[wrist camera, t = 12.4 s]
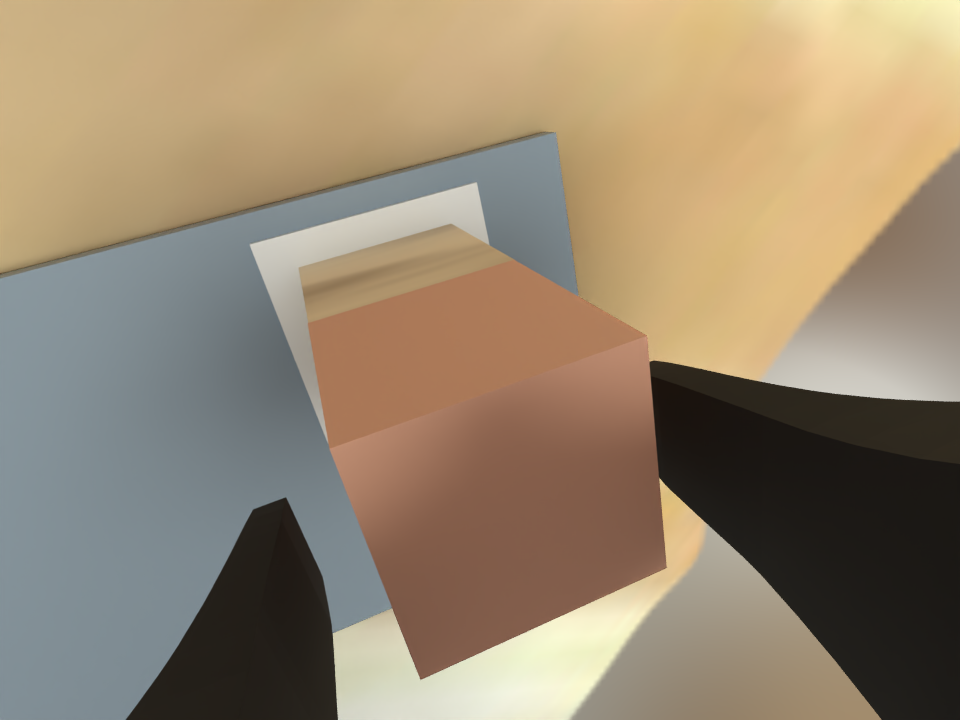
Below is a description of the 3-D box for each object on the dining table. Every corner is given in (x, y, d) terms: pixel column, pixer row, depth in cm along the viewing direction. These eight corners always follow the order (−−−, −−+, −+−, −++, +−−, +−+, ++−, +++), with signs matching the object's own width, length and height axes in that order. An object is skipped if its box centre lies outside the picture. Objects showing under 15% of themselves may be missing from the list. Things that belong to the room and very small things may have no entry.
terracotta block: (546, 431, 14) (666, 567, 10) (372, 496, 13) (420, 680, 9) (513, 259, 12) (647, 336, 8) (307, 323, 11) (329, 448, 7)
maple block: (482, 358, 19) (546, 431, 14) (348, 404, 18) (373, 497, 13) (451, 223, 17) (514, 259, 12) (298, 267, 16) (308, 323, 11)
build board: (599, 504, 24) (611, 519, 23) (34, 740, 20) (23, 769, 19) (544, 132, 18) (558, 132, 17) (-322, 358, 13) (-365, 375, 12)
